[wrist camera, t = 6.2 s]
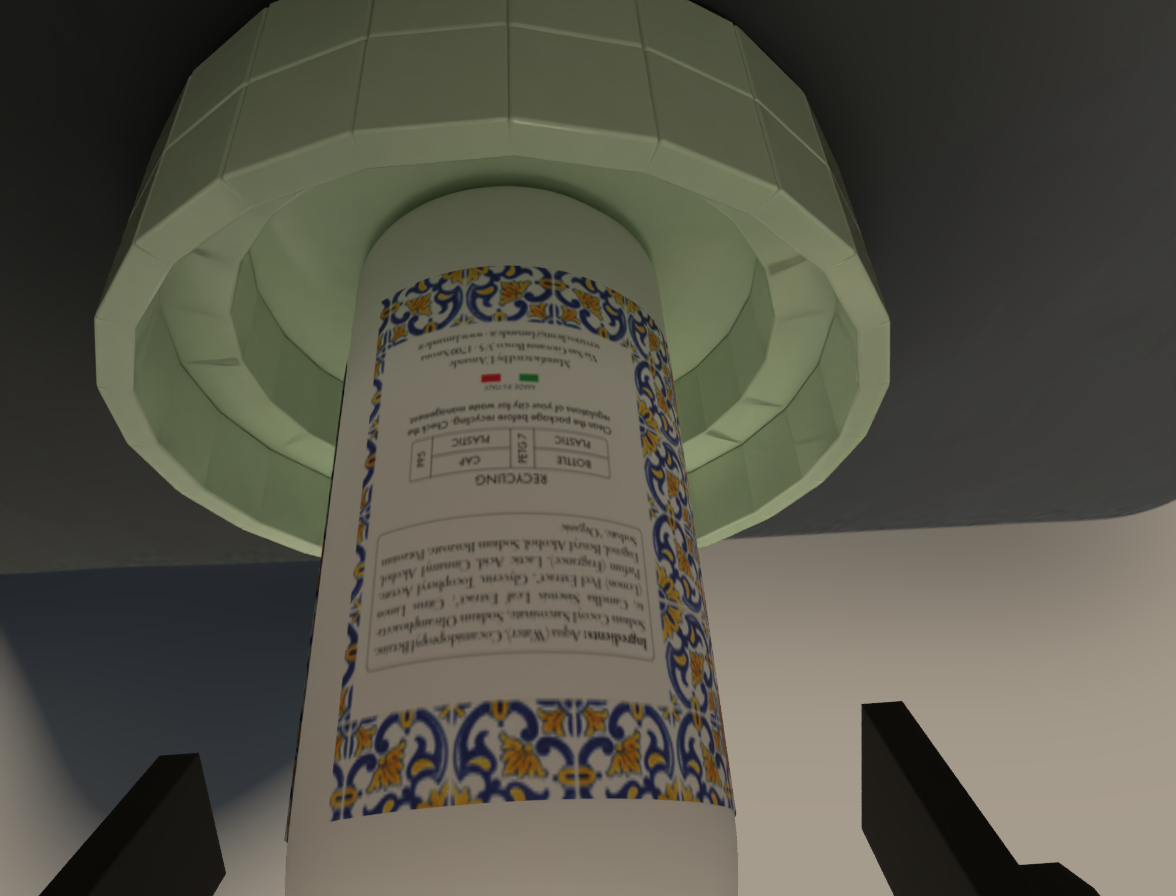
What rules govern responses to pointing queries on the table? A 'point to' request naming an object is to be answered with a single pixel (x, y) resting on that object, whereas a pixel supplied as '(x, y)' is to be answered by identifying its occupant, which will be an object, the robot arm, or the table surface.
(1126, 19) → the table surface
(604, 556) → the bath foam
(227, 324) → the dish
